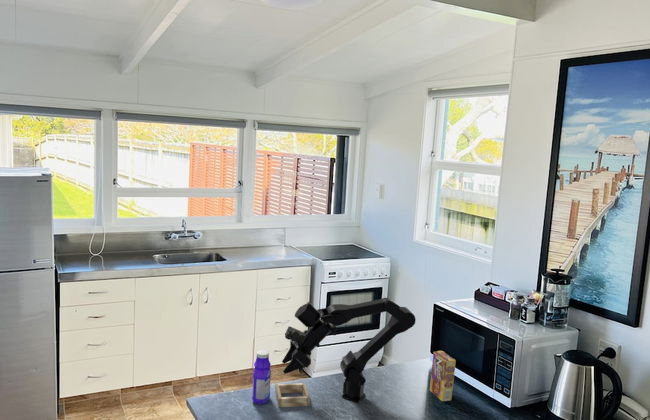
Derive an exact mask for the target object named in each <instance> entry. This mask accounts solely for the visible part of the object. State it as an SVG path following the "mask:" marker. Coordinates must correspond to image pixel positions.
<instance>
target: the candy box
mask: <svg viewBox="0 0 650 420" xmlns="http://www.w3.org/2000/svg"><path fill="white" fill-rule="evenodd" d="M456 361H457V360H456V359H455V358H453V357H452V356H450V355H449V354H447V353H446V352H445V351H443V350H437V351H433V355H432V364H431V365H432V366H431V372H430V373H431V375H430V385H429V391H430V392H431V393H432V395H434V396H436V398H438V400H440V401H441V402H449V401H452V398H453V388H454V381H455V373H456V372H455V370H456Z"/></svg>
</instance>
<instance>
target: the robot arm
mask: <svg viewBox="0 0 650 420" xmlns="http://www.w3.org/2000/svg"><path fill="white" fill-rule="evenodd" d="M385 312H386V313H387V314H389V315H391V316H390V318H389V321H388V323H387V324H386V325H385V326H384V327H383V328H382V329H381V330H380V331H379V332H377V333H376V334H375V335H374V336H373V337H371V339H370V340H369V341H368V342H367V343H366V344H365V345H364V346H362V347H361V348H360V349H359V350H358V351H355V352H353V351H352V350H349V351H348V352H347V353H346V354H345V355H344V356H342V357H341V359H342V360H341V361H340V364H339V365H340V370H341V372H342V374H343V376H344V377H345V379H344V382H343V385H342V395H341V398H344V399H346V400H350V401H353V402H356V403H359V402H360V401H361V400H362V399H363V398H364V397H365V396H366V393H365V391H364V390H365V383H366V381H367V379H366V377H365V375H364V374H363V372H364V370H365V368H366V366H367V363H368V361H370V360H371V359H372V358H373V357H374V356H375V355H377V354H378V352H380V350H382V349H383V348H385V346H386V345H388V343H389V342H390V341H392V339H393V338H395V337H396V336H397V335H400V334H401V333H405V332H407V331H408V330H409V329H412V327H414V326H415V324H416V316H415V315H414V313H412V311H411V310H410V309H409V308H408V307H406V306H400V305H398V304H397V303H396V302H394V301H392V300H391V299H390V298H389V297H383V298H381V299H380V298H379V299H375V300H370V301H365V302H360V303H356V304H355V303H354V304H343V303H342V304H341V303H339V304H335V303H334V304H329V306H328V307H324V308H319V309H317V308H316V307H314V306H313V304H312V302H310V301H308V302H307V303H305V304H302V305H301V306H299V307H298V308H297V310H296V311H295V313H294V317H295V318H296V319H297V320H298V321H299V322H300V323H301V324H303V326H304V327H306V328H309V329H305V330H304V331H301V330H299V329H297V328H294V327H292V326H288V327H287V329H286V331H285V333H284V338H285V339H287V340H290V341H289V342H290V343H289V345H290V346H289V348H288V351H287V353H286V354H285V356H284V357H283V359H282V360H281V362H282V364H287V365H286V367H285V368H284V369H283V370H282V373H284V375H286V374H289V373H292V372H294V371H297V370H300V369H305V368H306V369H307V368H308V367H310V366H311V364H312V359H311V355H312V352H313V350H314V349H315V348H316V347H317V348H319V346H320V344H321V342H322V341H324V339H325V338H326V337H327V336H328V335H329V334H332V335H333V336H337V327H339V326H342V325H345V324H348V323H349V322H351V320H354V319H356V318H361V317H366V316H370V315H371V316H372V315H377V314H381V313H385Z"/></svg>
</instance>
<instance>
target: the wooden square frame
mask: <svg viewBox="0 0 650 420" xmlns="http://www.w3.org/2000/svg"><path fill="white" fill-rule="evenodd" d="M308 390H309V389H308V388H307V385H306V382H302V383H301V382H300V383H299V382H297V383H276V384H275V386H274V393H275V399H276V402H277V403H276V404H277V407H278V408H291V407H292V408H293V407H310V404H311V397H310V393H309V391H308ZM297 393H298V394H299V393H302V395H303V396H284V397H282V394H297Z"/></svg>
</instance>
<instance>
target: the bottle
mask: <svg viewBox="0 0 650 420" xmlns="http://www.w3.org/2000/svg"><path fill="white" fill-rule="evenodd" d="M255 359H256V360H255V362H254V363H253V365H254V369H253V373H252V390H251V391H252V394H251V395H252V396H251V399H252V402H253V403H254V404H258V405H259V404H260V405H265V404H266V403H268V401H269V399H270V397H271V375H272V370H271V366H272V365H271V361H270V353H269V351H267V350H265V349H260V350H258V351H256V358H255Z"/></svg>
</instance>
